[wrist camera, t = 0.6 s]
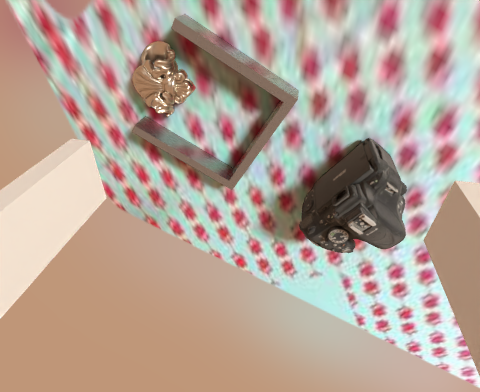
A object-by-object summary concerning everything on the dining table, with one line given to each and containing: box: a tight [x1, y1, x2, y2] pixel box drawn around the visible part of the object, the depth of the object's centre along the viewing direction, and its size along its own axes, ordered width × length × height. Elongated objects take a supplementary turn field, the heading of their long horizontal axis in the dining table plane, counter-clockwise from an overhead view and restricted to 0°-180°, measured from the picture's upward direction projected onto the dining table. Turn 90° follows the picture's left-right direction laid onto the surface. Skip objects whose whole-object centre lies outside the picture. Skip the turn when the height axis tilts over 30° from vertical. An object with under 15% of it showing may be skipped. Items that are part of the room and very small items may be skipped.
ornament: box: [132, 41, 195, 117], centre depth 34 cm, size 8×7×4 cm
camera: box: [299, 138, 407, 253], centre depth 35 cm, size 13×10×10 cm
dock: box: [133, 14, 298, 190], centre depth 36 cm, size 14×14×3 cm
